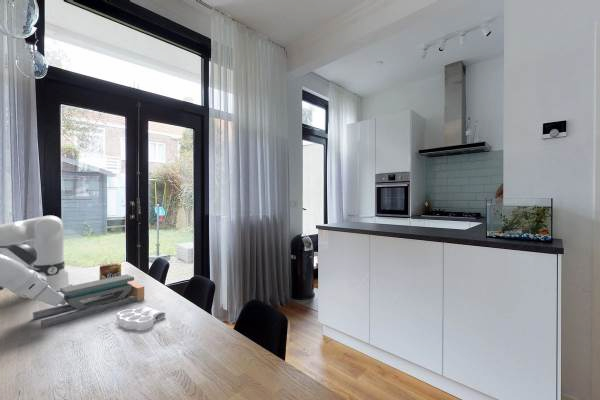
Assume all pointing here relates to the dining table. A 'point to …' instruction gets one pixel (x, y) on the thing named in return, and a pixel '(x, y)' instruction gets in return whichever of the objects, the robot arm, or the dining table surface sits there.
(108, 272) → the candy box
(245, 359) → the dining table surface
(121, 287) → the sharpening stone
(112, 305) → the guide track
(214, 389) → the dining table surface
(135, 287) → the end stop
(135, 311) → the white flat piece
